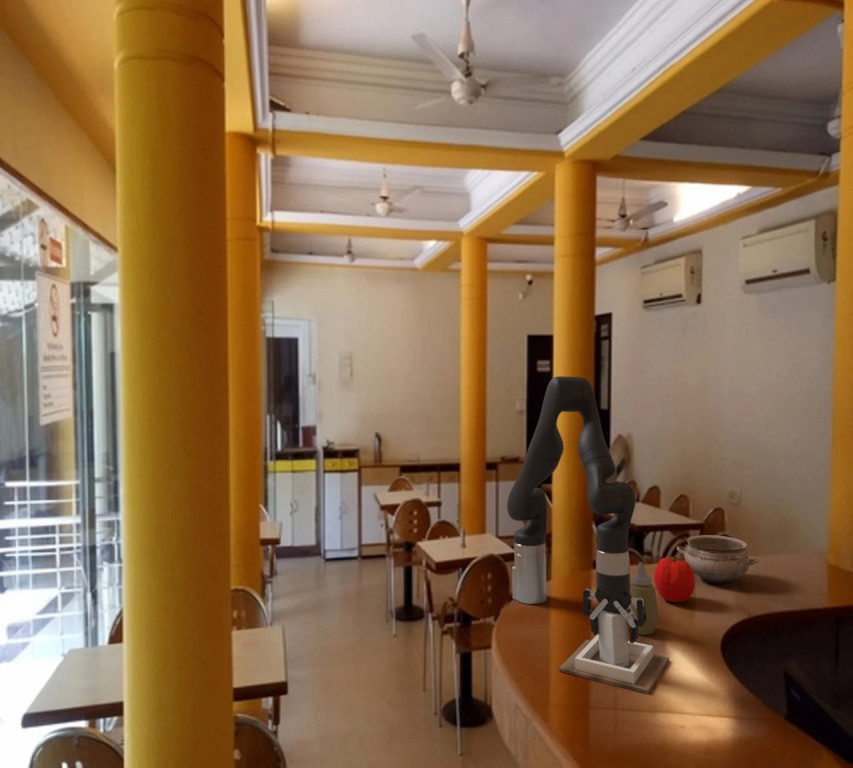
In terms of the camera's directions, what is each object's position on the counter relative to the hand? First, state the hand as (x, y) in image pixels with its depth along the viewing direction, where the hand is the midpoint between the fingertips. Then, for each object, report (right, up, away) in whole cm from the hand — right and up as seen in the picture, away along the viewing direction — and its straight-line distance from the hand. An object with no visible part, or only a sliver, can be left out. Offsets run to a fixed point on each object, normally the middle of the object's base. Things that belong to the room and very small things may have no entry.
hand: (614, 638), depth 150 cm
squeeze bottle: (+13, -6, +19) cm, 24 cm away
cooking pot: (+49, -4, +56) cm, 75 cm away
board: (0, -7, 0) cm, 7 cm away
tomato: (+29, -5, +40) cm, 50 cm away
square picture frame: (0, -7, 0) cm, 7 cm away
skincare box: (0, -6, 0) cm, 6 cm away
